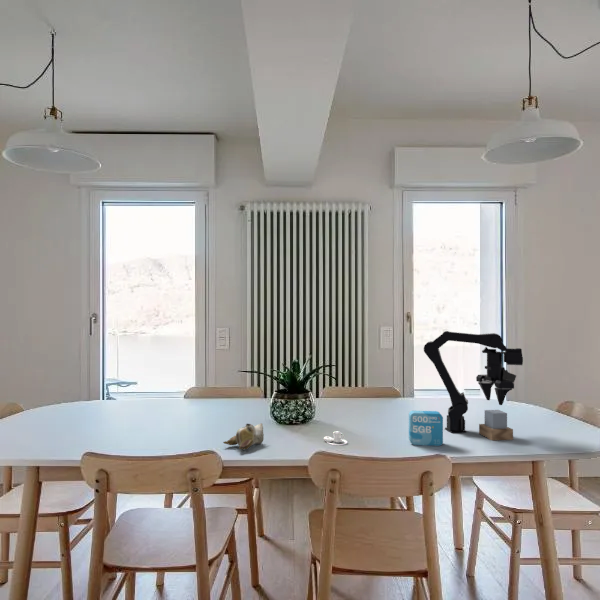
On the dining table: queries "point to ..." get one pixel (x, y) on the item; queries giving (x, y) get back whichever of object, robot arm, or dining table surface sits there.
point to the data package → (425, 428)
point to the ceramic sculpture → (247, 436)
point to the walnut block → (496, 433)
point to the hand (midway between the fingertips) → (494, 402)
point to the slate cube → (496, 419)
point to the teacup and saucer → (335, 438)
